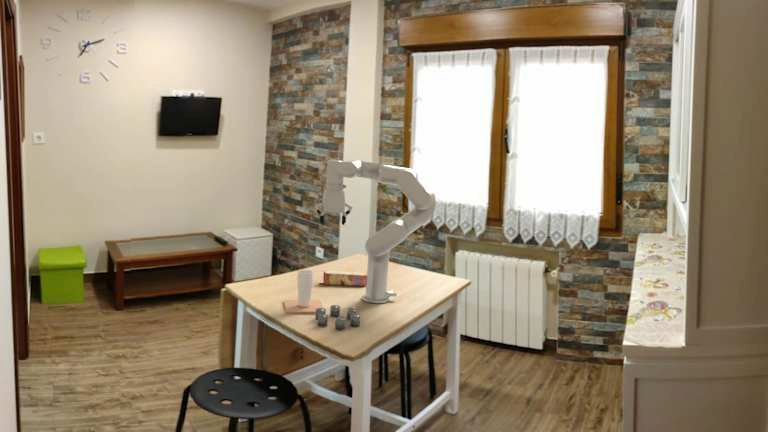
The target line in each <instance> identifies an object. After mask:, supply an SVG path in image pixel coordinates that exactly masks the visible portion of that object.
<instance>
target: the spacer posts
mask: <svg viewBox="0 0 768 432" xmlns="http://www.w3.org/2000/svg"><path fill="white" fill-rule="evenodd" d="M326 311H327V310H326V308H324V307H323V308H317V309H316V314H315V317H314V319H315V320H316V321H317V324H316V325H317V327H319V328H326V327H328V323H329V322H328V321H329V317H330V318H335V322H334V329H335V330H336V331H344V330H346V320H348V321H349V326H350V327H355V328H357V327H360V325H361V315H360V314H358V309H357V308H355V307H349V308H347V312H346V318H345V317H342V316H341V306H340V305H336V304H335V305H334V304H333V305H330V311H329V315H328V314H326Z"/></svg>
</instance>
